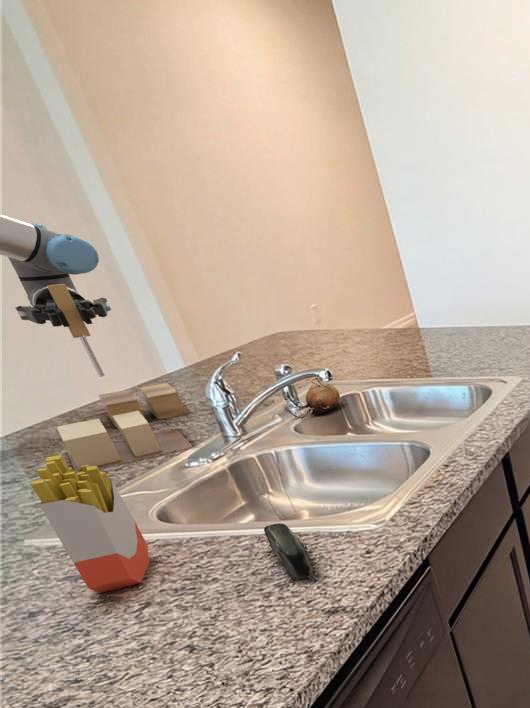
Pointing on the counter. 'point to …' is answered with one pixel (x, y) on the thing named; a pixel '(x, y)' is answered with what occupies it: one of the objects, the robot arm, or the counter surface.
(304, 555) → the dark green zucchini
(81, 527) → the french fries container
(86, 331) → the wooden handled screwdriver
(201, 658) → the counter surface
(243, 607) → the counter surface
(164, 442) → the board
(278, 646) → the counter surface
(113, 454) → the beige block
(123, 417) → the beige wooden block
